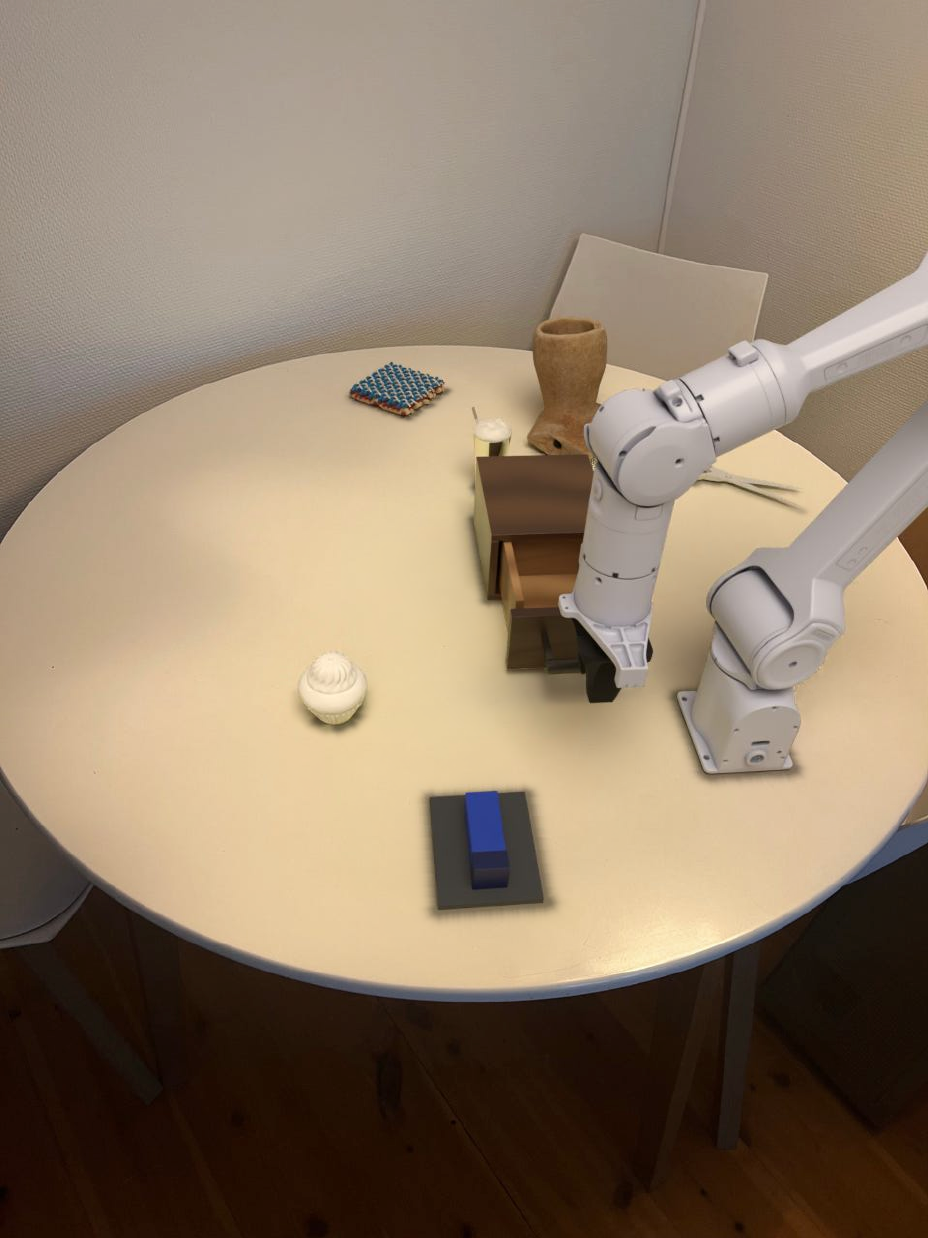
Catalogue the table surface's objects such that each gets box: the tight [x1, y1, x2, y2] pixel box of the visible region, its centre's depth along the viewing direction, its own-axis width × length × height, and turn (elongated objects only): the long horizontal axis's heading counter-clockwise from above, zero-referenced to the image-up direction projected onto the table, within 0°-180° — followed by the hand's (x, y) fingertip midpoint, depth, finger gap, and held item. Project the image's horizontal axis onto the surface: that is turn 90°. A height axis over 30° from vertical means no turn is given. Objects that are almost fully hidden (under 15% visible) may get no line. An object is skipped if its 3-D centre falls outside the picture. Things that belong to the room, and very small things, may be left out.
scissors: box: [696, 465, 804, 507], centre depth 111 cm, size 11×1×20 cm
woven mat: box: [348, 361, 446, 416], centre depth 125 cm, size 10×11×2 cm
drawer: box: [498, 539, 583, 676], centre depth 86 cm, size 18×11×7 cm, turn 5°
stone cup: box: [526, 316, 608, 461], centre depth 114 cm, size 15×12×15 cm
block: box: [464, 790, 510, 890], centre depth 69 cm, size 3×7×3 cm, turn 5°
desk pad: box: [429, 791, 545, 911], centre depth 70 cm, size 10×8×1 cm
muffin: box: [297, 650, 369, 726], centre depth 78 cm, size 6×6×7 cm
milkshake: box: [471, 406, 513, 476], centre depth 106 cm, size 4×5×10 cm
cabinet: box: [473, 454, 594, 601], centre depth 96 cm, size 15×13×9 cm
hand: (596, 685), depth 73 cm, fingers open, 3 cm apart
